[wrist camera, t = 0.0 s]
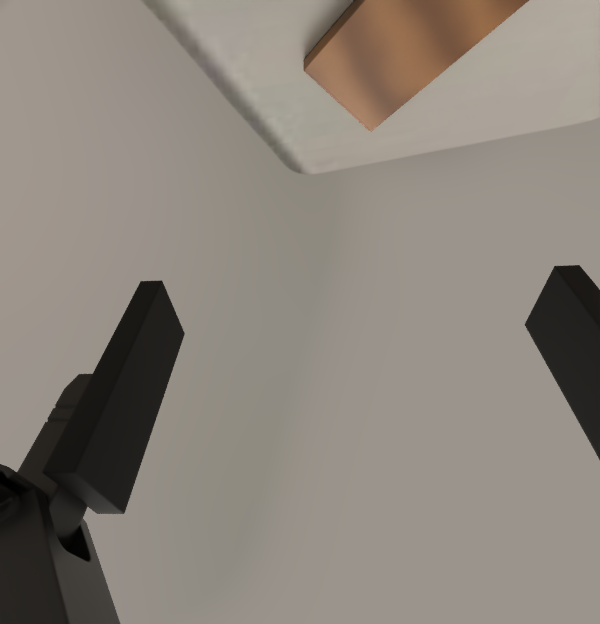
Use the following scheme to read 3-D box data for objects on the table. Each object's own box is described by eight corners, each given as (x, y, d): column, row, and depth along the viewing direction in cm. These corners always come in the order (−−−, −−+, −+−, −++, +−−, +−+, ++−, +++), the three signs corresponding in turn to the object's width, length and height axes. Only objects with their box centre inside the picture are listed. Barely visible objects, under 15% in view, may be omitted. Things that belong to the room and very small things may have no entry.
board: (565, -249, 19) (575, -242, 18) (610, -84, 24) (619, -75, 24) (303, 60, 32) (303, 70, 32) (369, 122, 38) (370, 132, 37)
